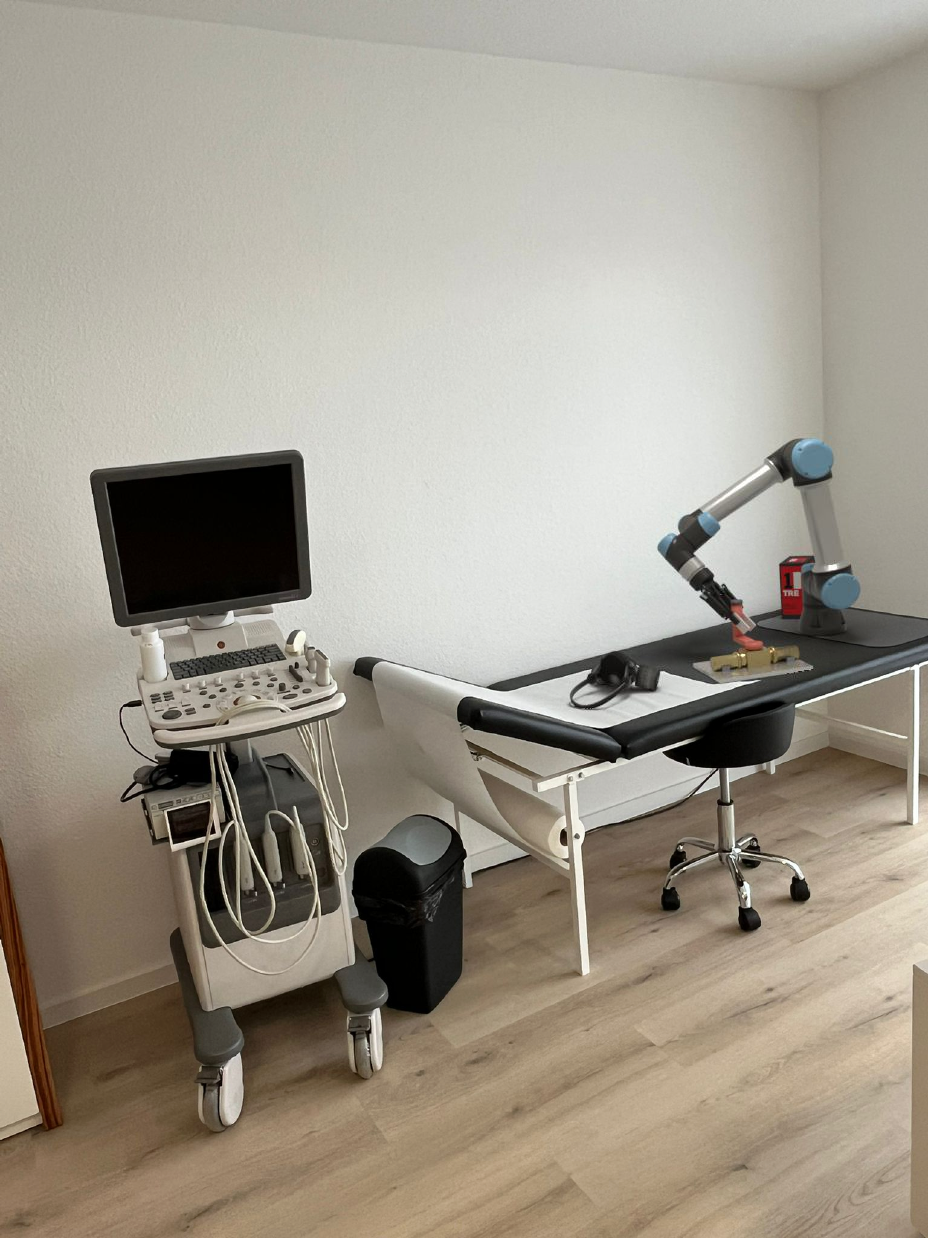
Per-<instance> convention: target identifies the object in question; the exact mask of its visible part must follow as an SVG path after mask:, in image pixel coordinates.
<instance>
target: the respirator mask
mask: <svg viewBox="0 0 928 1238" xmlns="http://www.w3.org/2000/svg"><path fill="white" fill-rule="evenodd" d="M660 675H661V668H655V667H651V666H647V665H645V664H639V665H637V662H636V661H635V660H634V659H633V658H631V657H629V656H627V654H625V653H624V652H621V651H618V650H614V651H610V652H608V653H607V655H605V657H601V659H600V662H599V663H595V664H594V665H593V666H592V667H591V670H590V672H589V673H587V677H586V678H585V679H584V680H582V681H581V682H579V683H578V684H577V685H575V686H574V687H573V688H572V690H571V691H570V692H569V700H570V702H571V704H572V705H573V706H574V707H576V708H577V707H578V709H581V708H585V709H584V710H592V708H594V709H597V708H599V707H601V706H603V705H605V704H607V703H608V702H610V701H612V700H613V699H614V698H616V697H617V696H618V695H620V693H622V691H624V690H626V689H630V688H631V687H632V685H633V684H634V686H635V687H638V688H644V689H645V690H652V691H653V690H655V689H656V690H657V689H658V688H657V687H658V685H659V681H660ZM595 684H597V685H608V686H609V685H610V686H613V687H616V689H615V690H614V691H613V692H611V693H609V694H608V695H607V696H605V697H603V698H602V699H600V700H598V701H596V702H595V701H594V702H593V703H589V704H582V703H578V702H577V701H575V700H574V698H573V697H574V696H575V694H576V693H577V692H579V691H580V690H581V689H582V688H583V687H585V686H587V685H595ZM656 690H655V691H656ZM587 708H588V709H587ZM590 708H591V709H590Z"/></svg>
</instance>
